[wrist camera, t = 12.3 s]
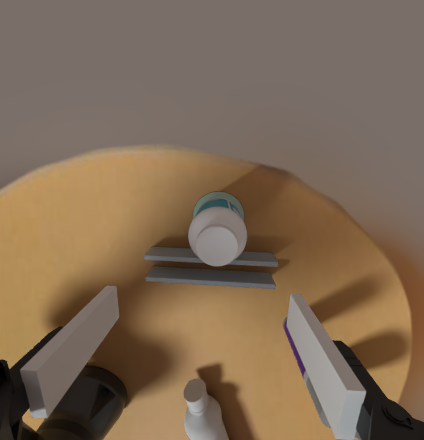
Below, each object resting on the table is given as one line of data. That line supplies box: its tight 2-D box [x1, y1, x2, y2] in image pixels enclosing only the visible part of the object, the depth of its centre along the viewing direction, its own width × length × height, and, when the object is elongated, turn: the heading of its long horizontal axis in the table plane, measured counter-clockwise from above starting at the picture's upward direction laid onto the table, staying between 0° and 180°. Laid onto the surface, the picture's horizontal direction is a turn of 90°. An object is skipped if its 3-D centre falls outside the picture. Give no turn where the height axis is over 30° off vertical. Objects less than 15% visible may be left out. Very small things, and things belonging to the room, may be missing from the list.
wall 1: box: [144, 247, 278, 267], centre depth 34 cm, size 22×1×4 cm, turn 88°
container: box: [283, 318, 331, 428], centre depth 31 cm, size 5×5×15 cm
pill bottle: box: [188, 197, 247, 266], centre depth 28 cm, size 8×7×14 cm
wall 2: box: [145, 266, 276, 289], centre depth 35 cm, size 22×1×4 cm, turn 88°
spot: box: [193, 192, 244, 222], centre depth 34 cm, size 9×9×1 cm
